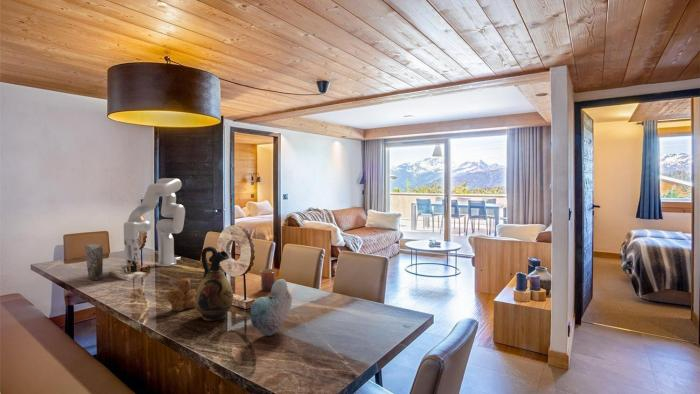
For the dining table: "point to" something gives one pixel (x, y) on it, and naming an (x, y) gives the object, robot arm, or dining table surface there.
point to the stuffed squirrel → (182, 296)
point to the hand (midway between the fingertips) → (131, 271)
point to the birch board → (127, 274)
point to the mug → (267, 279)
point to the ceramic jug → (214, 288)
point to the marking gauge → (130, 266)
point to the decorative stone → (271, 309)
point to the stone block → (94, 261)
